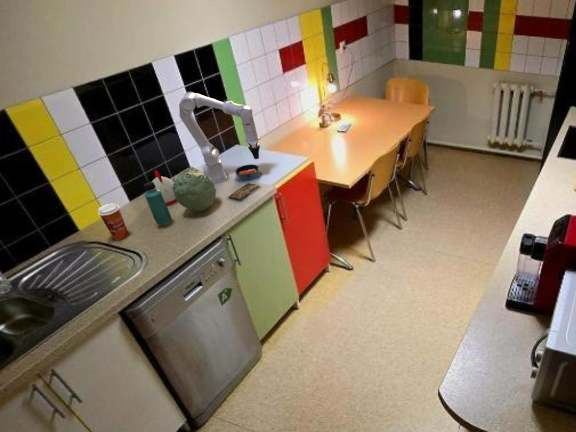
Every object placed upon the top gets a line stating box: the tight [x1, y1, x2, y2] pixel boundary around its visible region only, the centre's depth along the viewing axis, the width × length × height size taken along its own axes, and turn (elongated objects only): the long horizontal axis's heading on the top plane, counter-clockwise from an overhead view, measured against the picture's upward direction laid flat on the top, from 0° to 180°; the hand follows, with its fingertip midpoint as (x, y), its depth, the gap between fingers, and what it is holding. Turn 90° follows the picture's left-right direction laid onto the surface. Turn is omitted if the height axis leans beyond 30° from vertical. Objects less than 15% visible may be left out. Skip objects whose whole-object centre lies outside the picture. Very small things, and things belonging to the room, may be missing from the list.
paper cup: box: [97, 203, 129, 241], centre depth 172 cm, size 8×8×14 cm
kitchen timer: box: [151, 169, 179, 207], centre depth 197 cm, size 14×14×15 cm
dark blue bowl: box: [234, 163, 261, 182], centre depth 215 cm, size 12×12×4 cm
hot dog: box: [239, 169, 256, 174], centre depth 215 cm, size 9×3×3 cm, turn 110°
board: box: [228, 182, 260, 202], centre depth 202 cm, size 14×7×1 cm, turn 155°
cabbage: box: [172, 166, 217, 212], centre depth 186 cm, size 16×19×20 cm
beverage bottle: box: [143, 181, 173, 226], centre depth 176 cm, size 6×7×20 cm
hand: (256, 155), depth 215 cm, fingers open, 7 cm apart
